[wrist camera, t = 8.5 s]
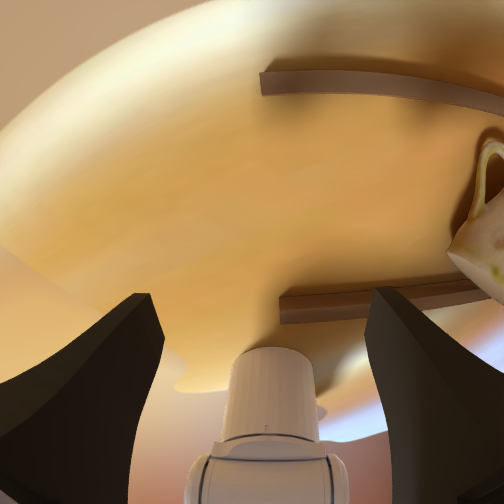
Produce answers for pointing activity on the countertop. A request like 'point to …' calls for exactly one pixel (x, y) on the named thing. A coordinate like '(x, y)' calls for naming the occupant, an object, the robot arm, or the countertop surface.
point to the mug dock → (382, 85)
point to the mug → (483, 234)
